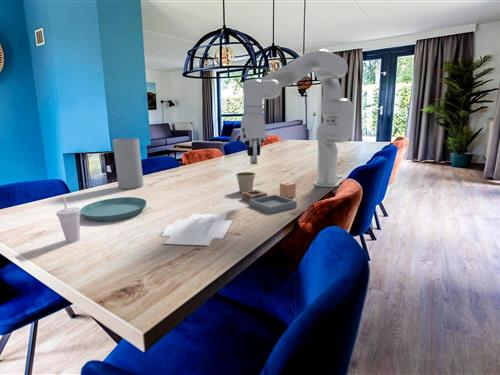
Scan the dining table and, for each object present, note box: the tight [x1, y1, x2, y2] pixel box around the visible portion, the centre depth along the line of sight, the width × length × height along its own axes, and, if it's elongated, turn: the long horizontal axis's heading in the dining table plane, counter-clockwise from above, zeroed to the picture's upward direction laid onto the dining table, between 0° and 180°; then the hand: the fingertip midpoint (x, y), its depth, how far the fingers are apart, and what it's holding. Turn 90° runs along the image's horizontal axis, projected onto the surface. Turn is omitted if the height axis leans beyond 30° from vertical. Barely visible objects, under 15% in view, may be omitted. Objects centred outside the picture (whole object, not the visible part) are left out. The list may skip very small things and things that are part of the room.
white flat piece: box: [160, 213, 234, 247], centre depth 106 cm, size 20×28×4 cm
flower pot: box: [235, 171, 256, 193], centre depth 152 cm, size 9×9×9 cm
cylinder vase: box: [112, 137, 144, 190], centre depth 165 cm, size 12×12×25 cm
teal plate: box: [79, 196, 147, 222], centre depth 125 cm, size 24×24×3 cm
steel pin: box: [249, 139, 258, 165], centre depth 134 cm, size 3×3×12 cm
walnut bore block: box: [241, 189, 268, 203], centre depth 139 cm, size 8×8×3 cm
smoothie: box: [56, 196, 81, 243], centre depth 97 cm, size 6×6×14 cm
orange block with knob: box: [279, 181, 297, 199], centre depth 143 cm, size 5×5×6 cm
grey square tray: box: [249, 194, 298, 214], centre depth 129 cm, size 14×14×2 cm
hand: (253, 155), depth 135 cm, fingers closed on steel pin, 3 cm apart
